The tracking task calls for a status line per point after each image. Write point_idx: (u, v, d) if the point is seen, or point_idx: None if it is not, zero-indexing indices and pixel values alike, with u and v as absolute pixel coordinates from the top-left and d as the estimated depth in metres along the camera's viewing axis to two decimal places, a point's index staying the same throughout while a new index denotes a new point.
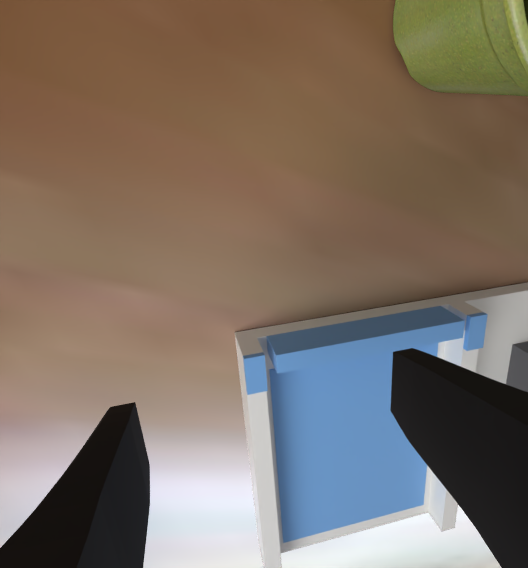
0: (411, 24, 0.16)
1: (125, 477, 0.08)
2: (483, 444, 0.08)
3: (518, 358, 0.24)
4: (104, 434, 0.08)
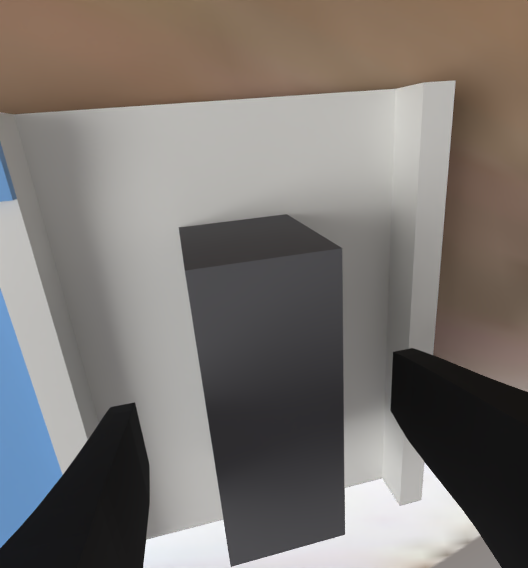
0: None
1: (125, 477, 0.08)
2: (483, 444, 0.08)
3: None
4: (104, 434, 0.08)
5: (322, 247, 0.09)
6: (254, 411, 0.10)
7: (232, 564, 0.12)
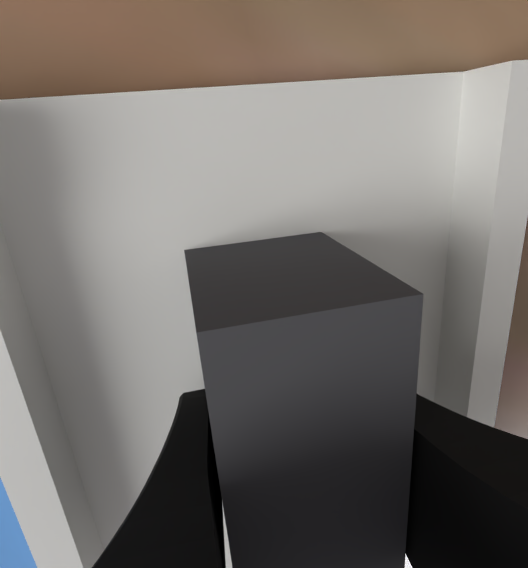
0: None
1: (212, 457, 0.08)
2: None
3: None
4: (189, 416, 0.09)
5: (392, 291, 0.06)
6: (289, 513, 0.07)
7: None
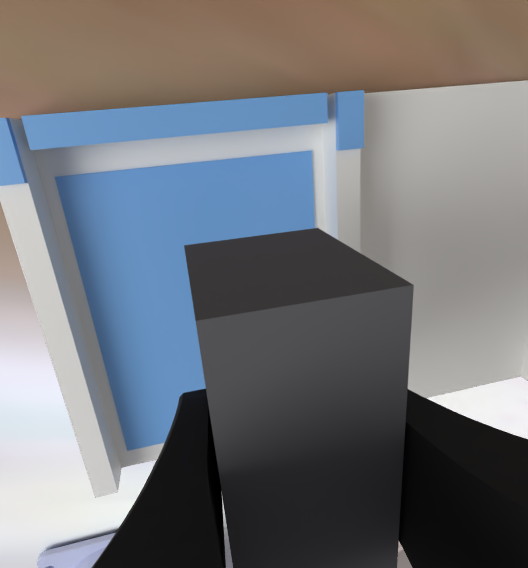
0: None
1: (212, 457, 0.08)
2: (405, 464, 0.08)
3: None
4: (189, 417, 0.09)
5: (384, 282, 0.07)
6: (286, 498, 0.07)
7: None
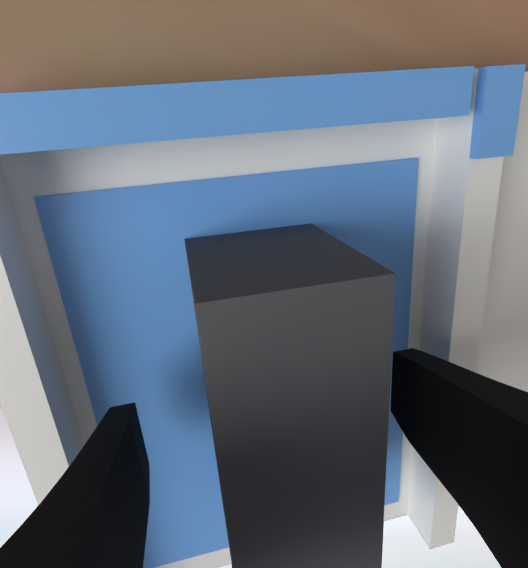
0: None
1: (125, 477, 0.08)
2: (483, 444, 0.08)
3: None
4: (104, 434, 0.08)
5: (369, 271, 0.07)
6: (278, 472, 0.08)
7: None
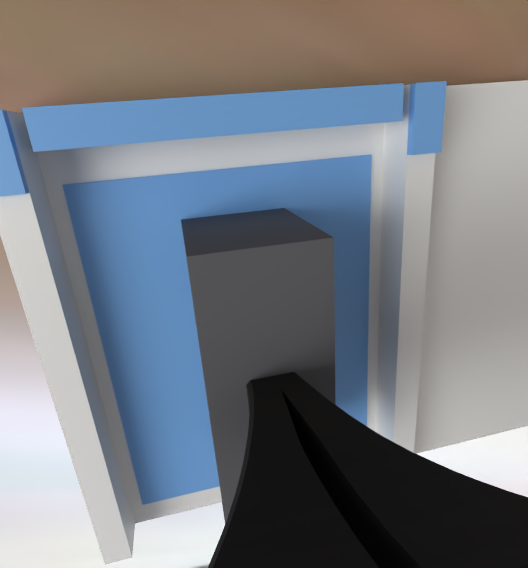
0: None
1: None
2: (323, 484, 0.08)
3: (184, 243, 0.13)
4: (266, 401, 0.09)
5: (315, 236, 0.10)
6: None
7: None
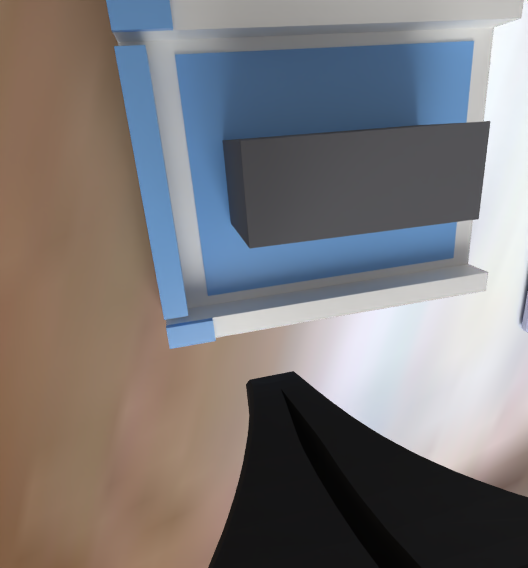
0: None
1: None
2: (324, 484, 0.08)
3: None
4: (266, 401, 0.09)
5: (240, 152, 0.13)
6: (354, 203, 0.14)
7: (477, 217, 0.15)
